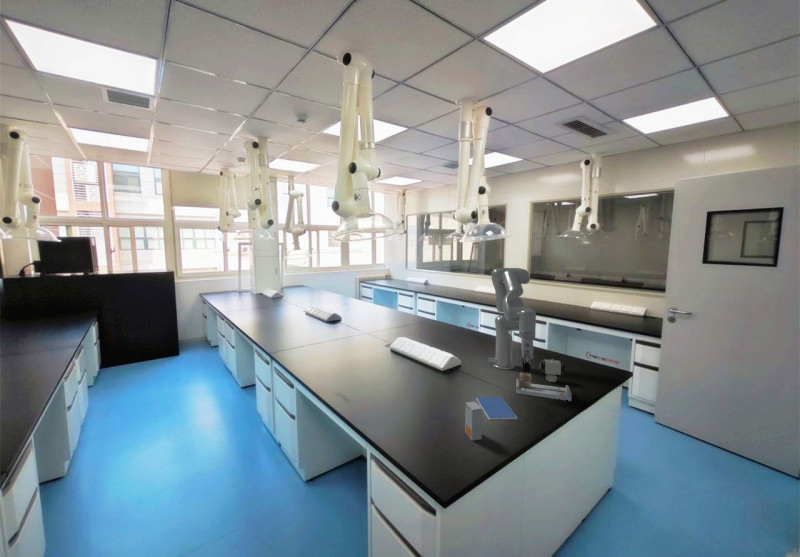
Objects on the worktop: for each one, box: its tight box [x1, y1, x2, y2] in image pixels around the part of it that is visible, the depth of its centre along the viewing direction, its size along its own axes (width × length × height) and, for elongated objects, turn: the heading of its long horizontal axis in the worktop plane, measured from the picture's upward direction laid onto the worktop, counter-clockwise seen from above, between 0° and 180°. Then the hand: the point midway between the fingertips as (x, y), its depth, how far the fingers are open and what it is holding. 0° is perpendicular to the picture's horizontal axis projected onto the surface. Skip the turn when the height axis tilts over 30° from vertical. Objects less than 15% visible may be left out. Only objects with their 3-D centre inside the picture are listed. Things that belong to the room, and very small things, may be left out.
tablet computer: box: [475, 396, 519, 421], centre depth 140 cm, size 19×13×1 cm, turn 3°
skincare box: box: [464, 401, 483, 441], centre depth 118 cm, size 6×4×12 cm
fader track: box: [515, 378, 573, 402], centre depth 155 cm, size 24×10×4 cm, turn 71°
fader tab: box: [519, 372, 532, 388], centre depth 158 cm, size 5×4×6 cm
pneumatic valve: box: [539, 358, 566, 383], centre depth 170 cm, size 6×12×12 cm, turn 76°
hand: (526, 368), depth 157 cm, fingers open, 9 cm apart
